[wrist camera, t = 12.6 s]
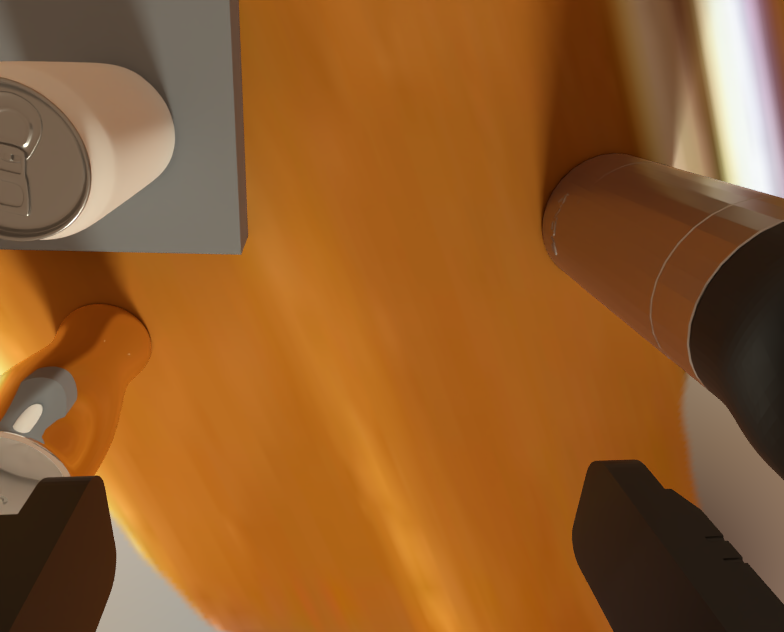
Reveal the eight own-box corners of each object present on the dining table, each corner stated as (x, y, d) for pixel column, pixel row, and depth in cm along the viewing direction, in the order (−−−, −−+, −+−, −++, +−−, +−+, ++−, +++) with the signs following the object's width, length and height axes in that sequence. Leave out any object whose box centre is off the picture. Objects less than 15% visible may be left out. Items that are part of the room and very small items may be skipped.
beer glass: (137, 399, 41) (51, 562, 28) (38, 362, 39) (-107, 520, 26) (174, 323, 39) (101, 460, 26) (72, 279, 37) (-67, 403, 24)
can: (185, 83, 30) (112, 94, 19) (168, 201, 32) (95, 270, 21) (53, 45, 28) (-110, 32, 17) (45, 171, 31) (-102, 228, 20)
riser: (238, -3, 32) (228, -11, 28) (248, 236, 37) (241, 254, 34) (-32, -26, 30) (-79, -38, 26) (21, 230, 35) (-12, 249, 32)
